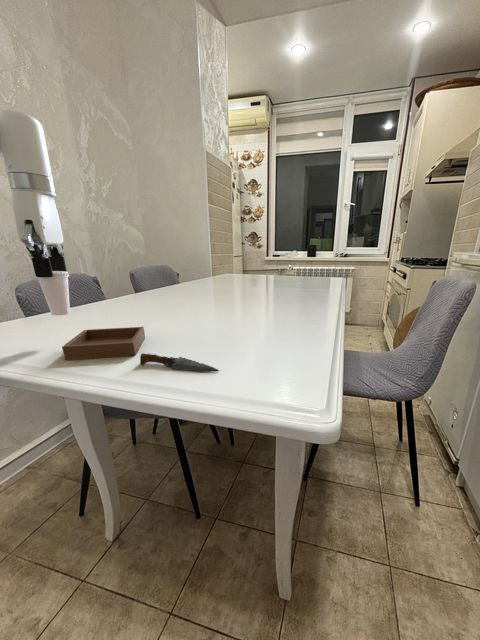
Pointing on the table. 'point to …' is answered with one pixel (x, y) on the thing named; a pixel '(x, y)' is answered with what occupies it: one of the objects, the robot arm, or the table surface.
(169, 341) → the table surface
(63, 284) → the smoothie
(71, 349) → the tray
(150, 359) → the knife
